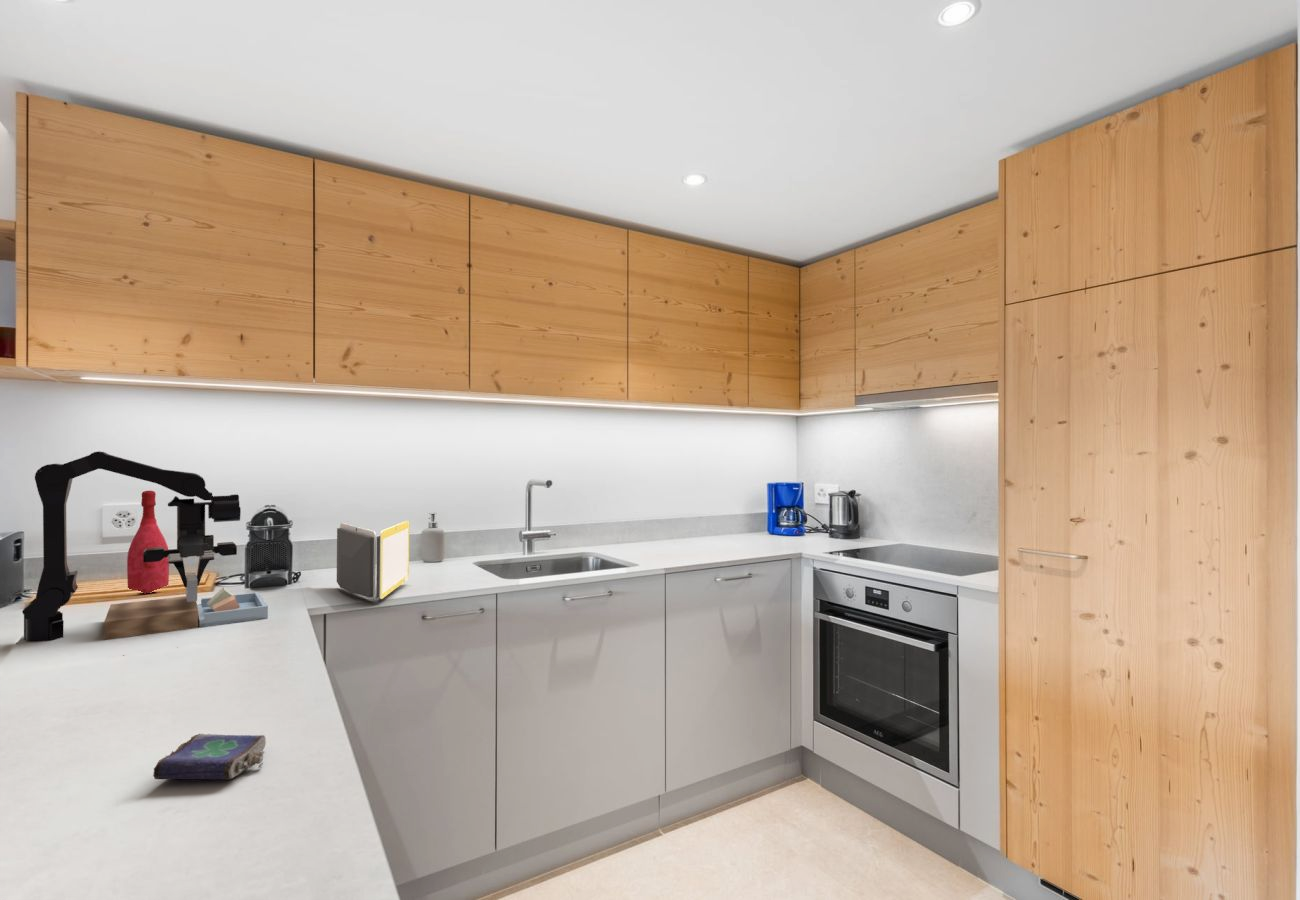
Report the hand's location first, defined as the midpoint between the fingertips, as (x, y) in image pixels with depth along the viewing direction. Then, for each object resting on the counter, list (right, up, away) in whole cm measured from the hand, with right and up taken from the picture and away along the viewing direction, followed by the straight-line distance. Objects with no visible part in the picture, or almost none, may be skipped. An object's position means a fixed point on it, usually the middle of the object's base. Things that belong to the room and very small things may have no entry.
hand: (191, 586), depth 160 cm
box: (+7, -8, +5) cm, 12 cm away
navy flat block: (+53, -9, -77) cm, 94 cm away
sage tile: (+2, -4, +6) cm, 7 cm away
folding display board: (+32, -9, +38) cm, 50 cm away
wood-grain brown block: (-6, -8, -5) cm, 11 cm away
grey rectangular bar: (0, -2, 0) cm, 3 cm away
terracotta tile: (+7, -4, +1) cm, 9 cm away
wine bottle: (-35, -8, +31) cm, 48 cm away
